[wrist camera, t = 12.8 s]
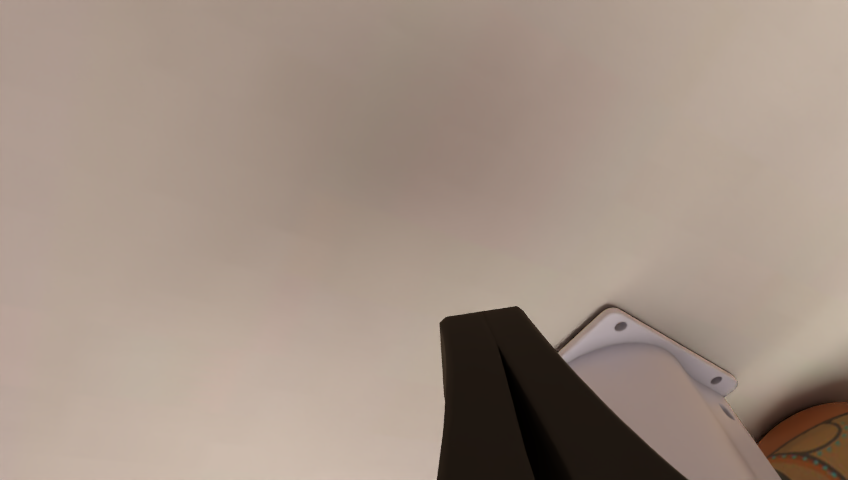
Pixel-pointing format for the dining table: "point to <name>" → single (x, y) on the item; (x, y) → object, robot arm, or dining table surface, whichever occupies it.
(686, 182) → the dining table surface
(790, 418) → the ceramic vessel
